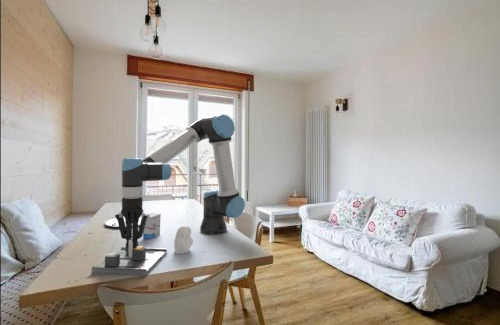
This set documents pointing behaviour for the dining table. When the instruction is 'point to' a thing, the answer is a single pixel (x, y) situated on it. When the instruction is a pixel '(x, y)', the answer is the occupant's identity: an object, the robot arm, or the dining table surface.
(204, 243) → the dining table surface
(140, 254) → the breaker
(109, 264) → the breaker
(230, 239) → the dining table surface
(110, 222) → the plate
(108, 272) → the panel
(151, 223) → the ink box
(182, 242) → the figurine
